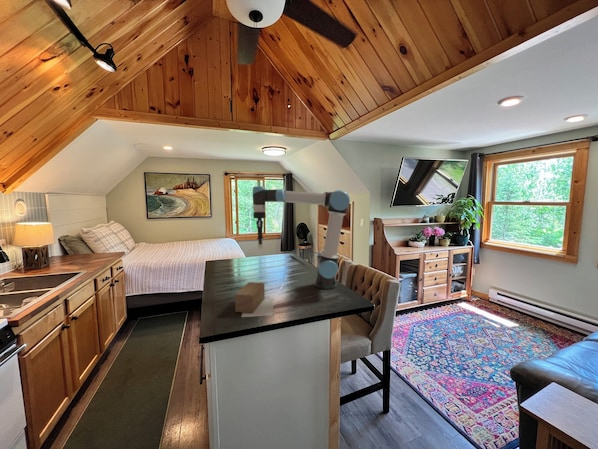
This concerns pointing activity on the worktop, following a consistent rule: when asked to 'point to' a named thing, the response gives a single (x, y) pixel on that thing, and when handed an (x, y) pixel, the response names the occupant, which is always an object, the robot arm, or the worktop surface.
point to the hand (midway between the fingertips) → (260, 249)
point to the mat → (262, 309)
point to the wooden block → (249, 297)
